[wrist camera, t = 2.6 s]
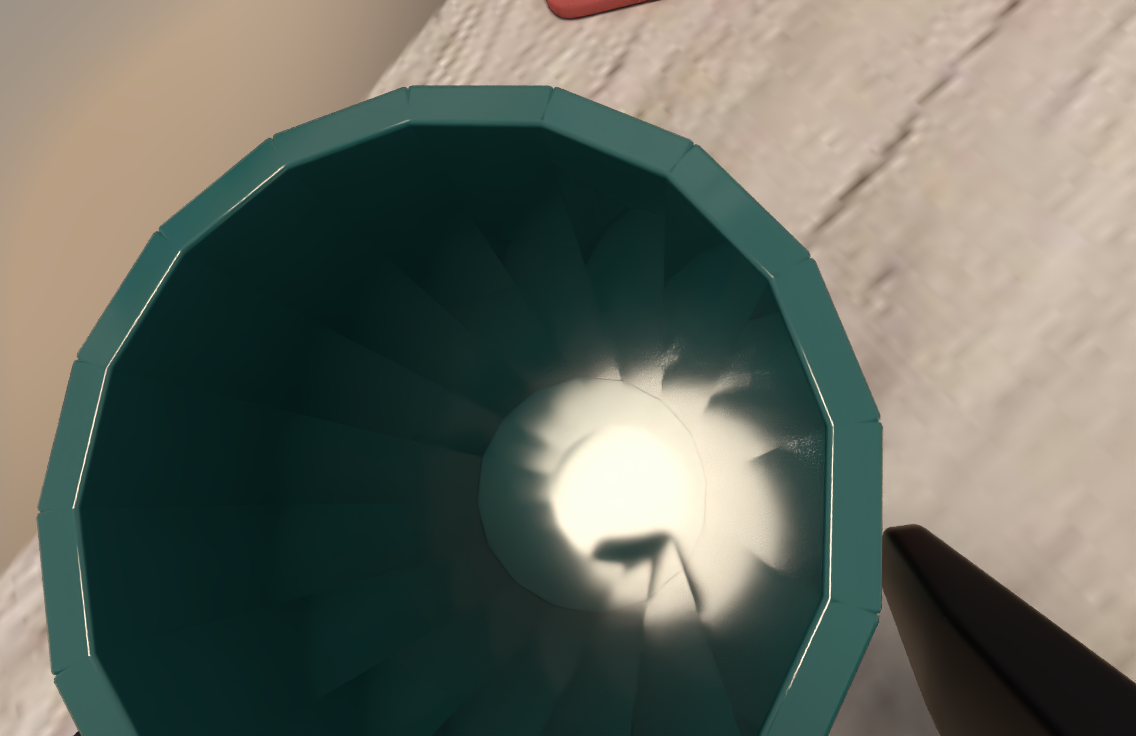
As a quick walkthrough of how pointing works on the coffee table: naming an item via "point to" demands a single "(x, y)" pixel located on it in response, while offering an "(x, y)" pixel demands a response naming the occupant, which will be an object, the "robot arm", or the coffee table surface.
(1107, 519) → the coffee table surface
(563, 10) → the smartphone
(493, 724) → the tumbler
